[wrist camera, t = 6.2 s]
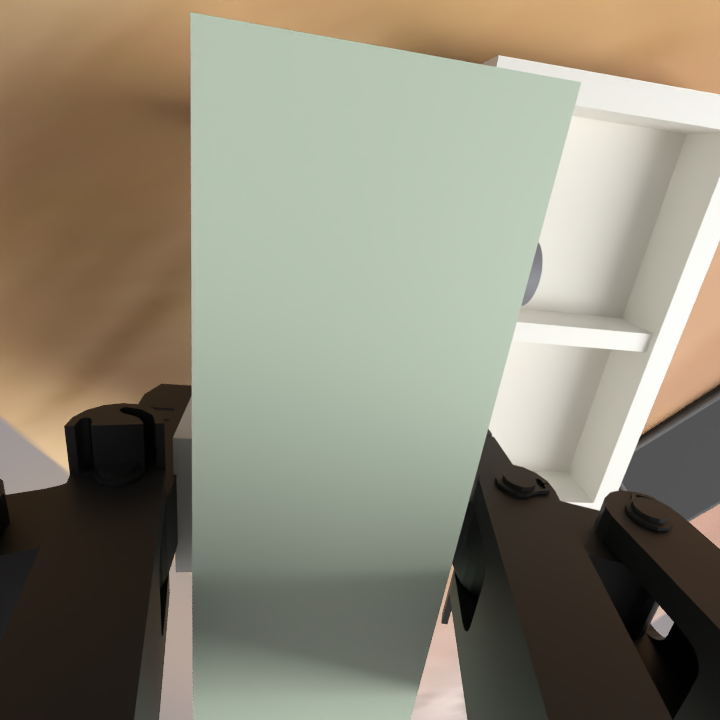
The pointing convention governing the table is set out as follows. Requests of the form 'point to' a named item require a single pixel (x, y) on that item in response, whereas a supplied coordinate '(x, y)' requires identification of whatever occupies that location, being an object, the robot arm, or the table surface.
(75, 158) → the table surface
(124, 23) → the table surface
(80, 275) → the table surface
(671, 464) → the smartphone
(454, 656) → the table surface
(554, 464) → the white divided tray
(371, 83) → the door panel
